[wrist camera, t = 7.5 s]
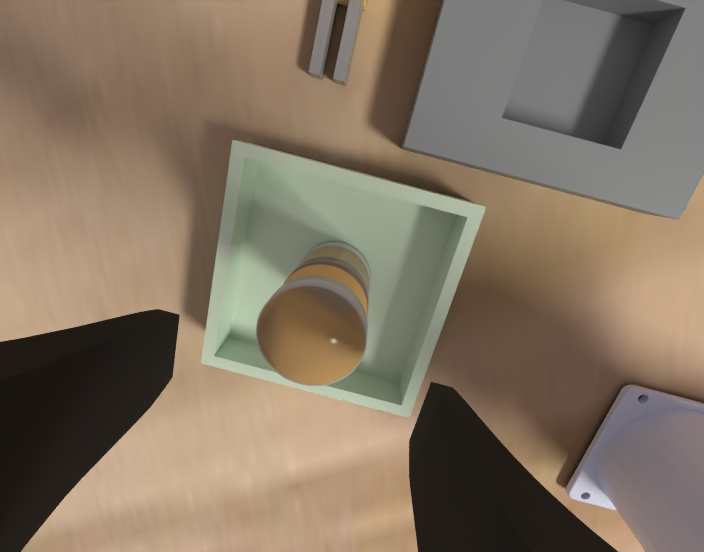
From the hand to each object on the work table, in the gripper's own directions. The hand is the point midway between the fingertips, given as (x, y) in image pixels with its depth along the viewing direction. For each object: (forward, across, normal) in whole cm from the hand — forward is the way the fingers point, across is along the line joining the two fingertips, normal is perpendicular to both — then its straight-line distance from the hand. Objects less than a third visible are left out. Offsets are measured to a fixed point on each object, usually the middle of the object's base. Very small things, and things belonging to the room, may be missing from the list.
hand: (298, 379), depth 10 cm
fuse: (+9, 0, 0) cm, 9 cm away
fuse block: (+10, -7, -12) cm, 17 cm away
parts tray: (+10, 0, 0) cm, 10 cm away
